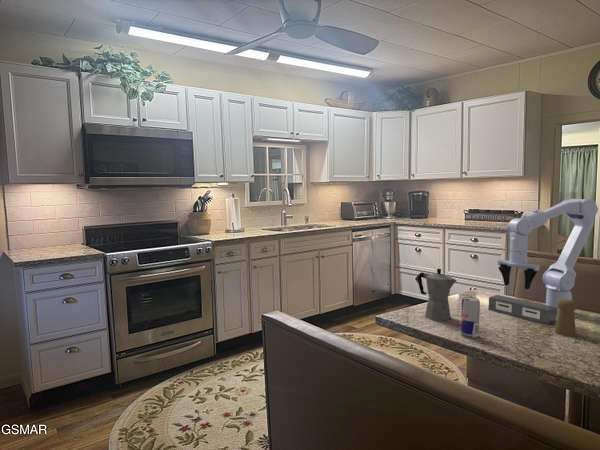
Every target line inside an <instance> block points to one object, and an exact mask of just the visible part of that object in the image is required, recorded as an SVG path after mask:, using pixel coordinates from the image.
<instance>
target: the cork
mask: <svg viewBox="0 0 600 450" xmlns="http://www.w3.org/2000/svg"><path fill="white" fill-rule="evenodd" d="M557 306H558V308H559V312H558V315H557V321H556V322H555V327H554V330H553V331H554V333H555V334H558V335H560V336H563V337H564V336H565V337H576V336H577V331H576V330H577V329H576V320H575V319H576V317H575V311H576V309H577V303H576V302H575V301H573V299H572V300H567V299H561V300H559V301H558V303H557Z"/></svg>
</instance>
